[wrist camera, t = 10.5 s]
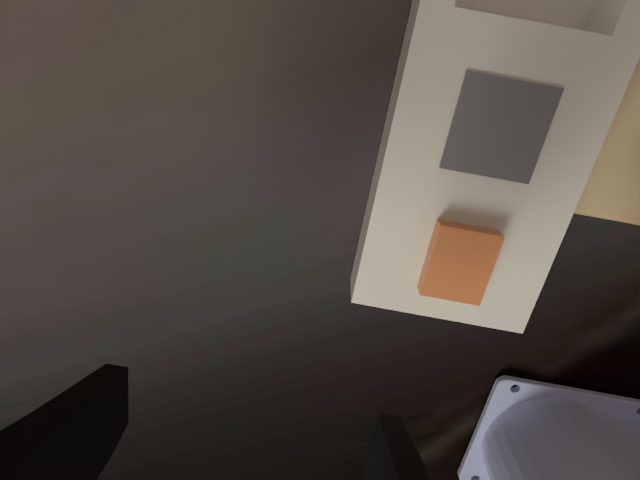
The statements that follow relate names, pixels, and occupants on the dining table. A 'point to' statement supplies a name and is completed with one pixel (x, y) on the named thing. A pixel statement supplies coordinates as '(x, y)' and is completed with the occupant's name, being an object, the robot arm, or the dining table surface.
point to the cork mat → (617, 165)
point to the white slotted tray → (489, 152)
